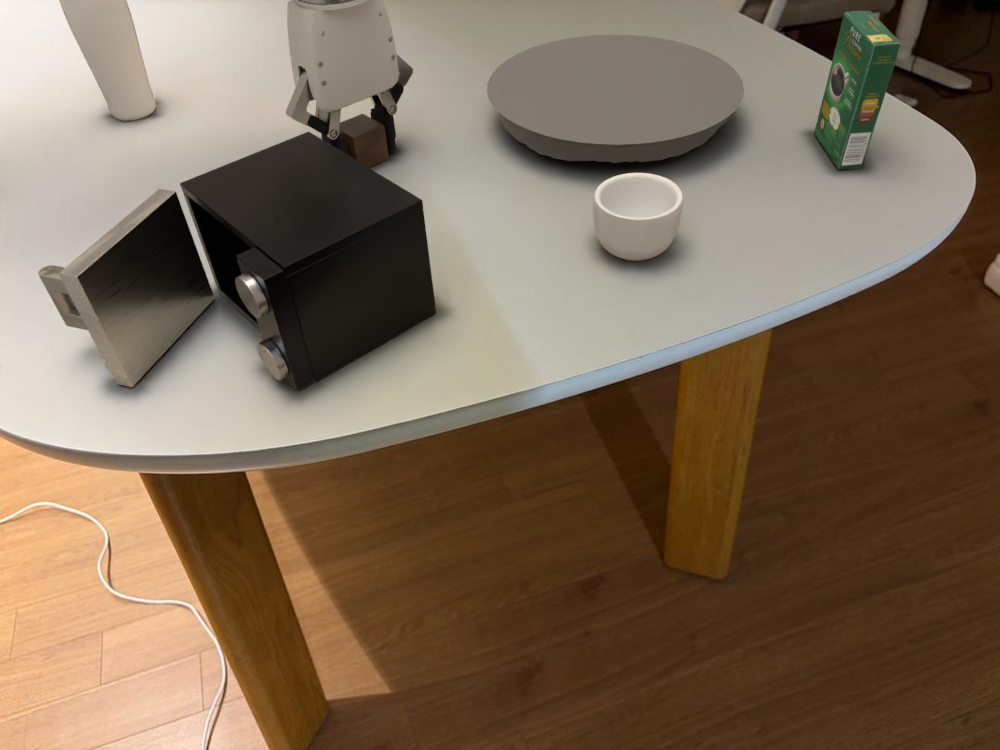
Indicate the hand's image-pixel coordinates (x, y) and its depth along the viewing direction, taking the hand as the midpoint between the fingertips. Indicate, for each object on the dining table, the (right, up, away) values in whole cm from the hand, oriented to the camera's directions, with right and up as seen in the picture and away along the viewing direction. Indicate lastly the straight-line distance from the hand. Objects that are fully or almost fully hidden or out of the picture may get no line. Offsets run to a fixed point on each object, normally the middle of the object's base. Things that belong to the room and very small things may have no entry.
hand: (363, 155), depth 87 cm
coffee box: (+50, -1, -3) cm, 51 cm away
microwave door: (-15, -20, -20) cm, 32 cm away
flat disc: (+28, +5, +4) cm, 28 cm away
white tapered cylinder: (-30, +8, +11) cm, 33 cm away
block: (0, 0, 0) cm, 0 cm away
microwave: (-1, -18, -18) cm, 26 cm away
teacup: (+28, -12, -13) cm, 33 cm away
